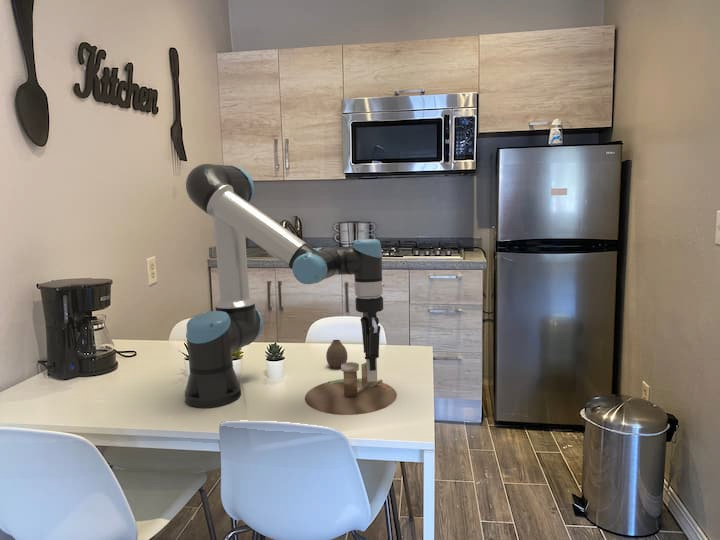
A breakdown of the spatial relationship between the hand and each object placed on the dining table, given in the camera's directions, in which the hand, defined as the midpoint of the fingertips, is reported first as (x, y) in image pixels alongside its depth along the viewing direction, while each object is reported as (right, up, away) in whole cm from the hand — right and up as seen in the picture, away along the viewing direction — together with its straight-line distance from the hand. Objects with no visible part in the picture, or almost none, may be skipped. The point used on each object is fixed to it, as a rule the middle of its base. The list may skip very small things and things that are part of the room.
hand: (372, 380), depth 138 cm
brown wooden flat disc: (-6, -5, -2) cm, 8 cm away
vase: (-11, -1, +26) cm, 28 cm away
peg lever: (-2, -3, +2) cm, 4 cm away
